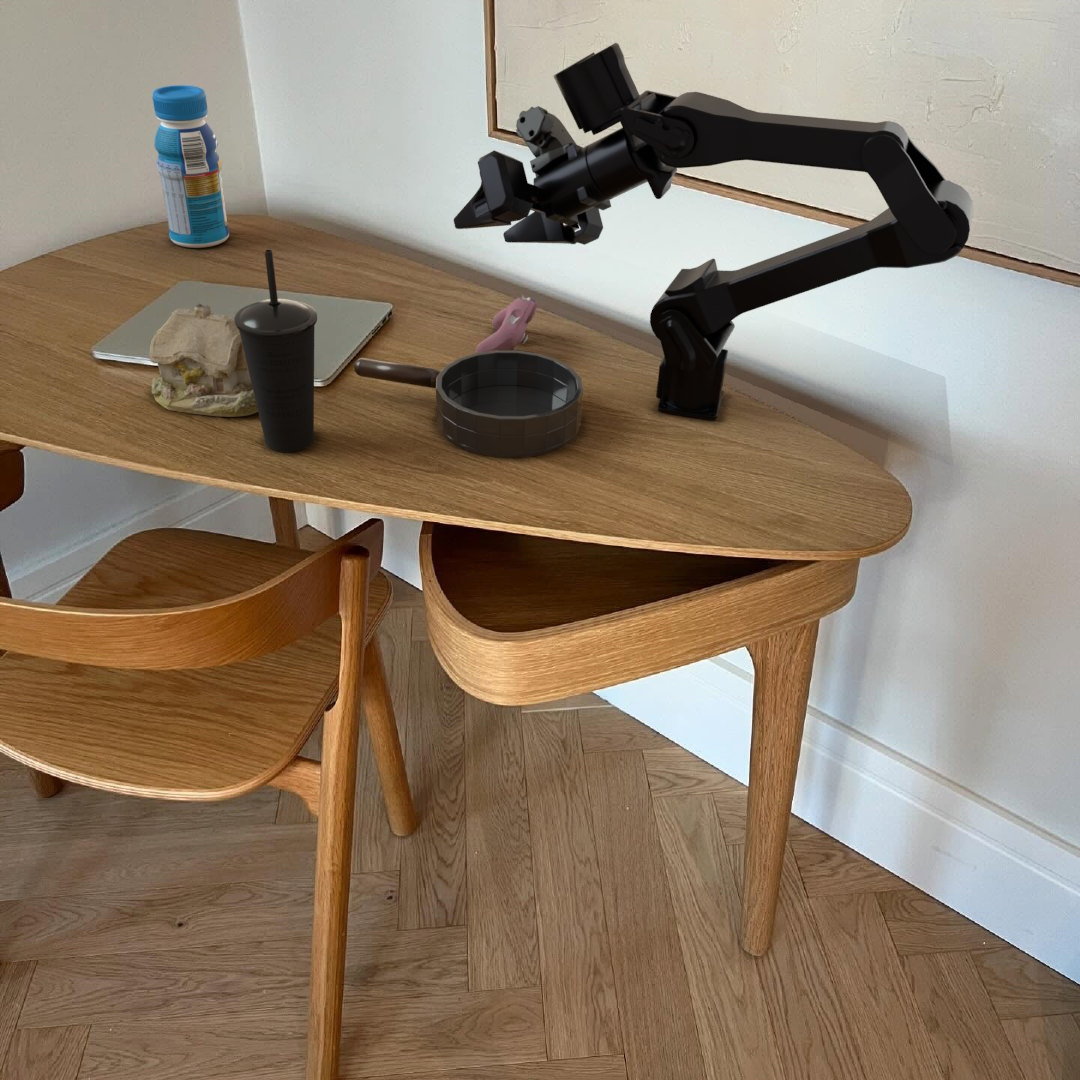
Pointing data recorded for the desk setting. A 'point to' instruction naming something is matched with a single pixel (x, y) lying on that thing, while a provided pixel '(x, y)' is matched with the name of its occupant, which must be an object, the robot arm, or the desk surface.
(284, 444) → the drinking cup
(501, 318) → the video game controller
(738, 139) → the robot arm
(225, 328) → the ceramic model
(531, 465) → the desk surface
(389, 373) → the pan handle
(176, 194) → the beverage bottle
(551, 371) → the pan
